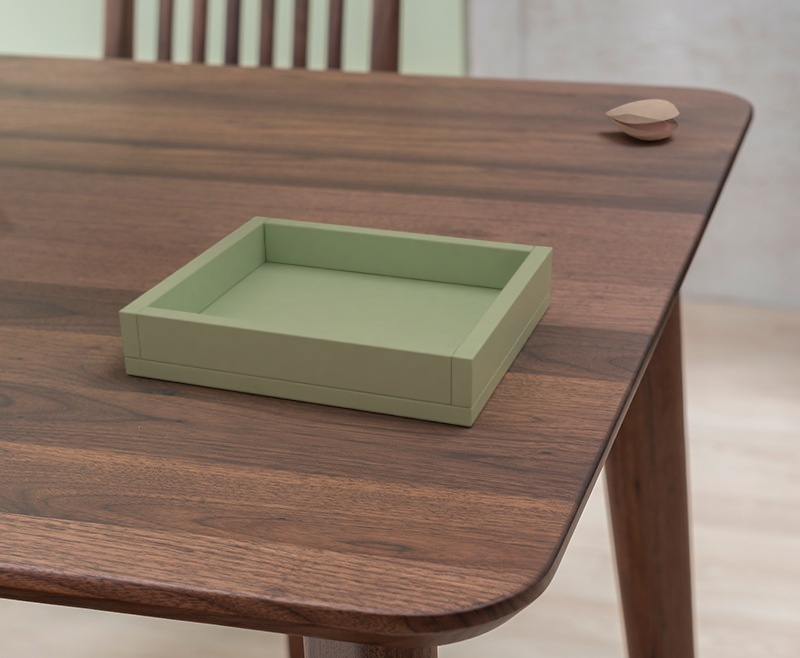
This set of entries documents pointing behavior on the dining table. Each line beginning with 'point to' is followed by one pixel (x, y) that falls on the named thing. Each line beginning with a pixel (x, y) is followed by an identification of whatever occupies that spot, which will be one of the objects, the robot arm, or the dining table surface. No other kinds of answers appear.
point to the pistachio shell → (645, 119)
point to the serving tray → (344, 317)
